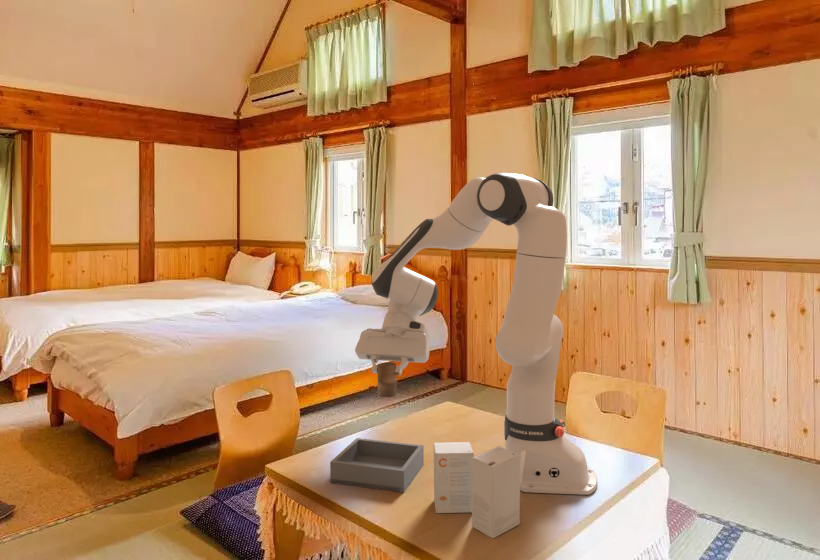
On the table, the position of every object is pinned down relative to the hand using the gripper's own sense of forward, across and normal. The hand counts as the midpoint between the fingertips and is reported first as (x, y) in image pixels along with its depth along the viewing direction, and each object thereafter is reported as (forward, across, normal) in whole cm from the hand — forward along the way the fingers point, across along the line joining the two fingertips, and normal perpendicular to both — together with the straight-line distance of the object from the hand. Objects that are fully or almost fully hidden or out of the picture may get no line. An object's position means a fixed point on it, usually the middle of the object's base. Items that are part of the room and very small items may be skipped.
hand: (386, 373), depth 152 cm
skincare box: (+37, +34, -6) cm, 50 cm away
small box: (+33, +24, -2) cm, 40 cm away
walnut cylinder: (+4, 0, +5) cm, 6 cm away
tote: (+25, +3, +5) cm, 25 cm away
